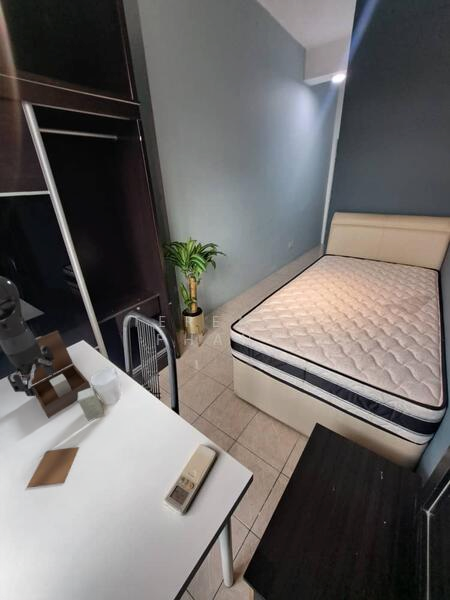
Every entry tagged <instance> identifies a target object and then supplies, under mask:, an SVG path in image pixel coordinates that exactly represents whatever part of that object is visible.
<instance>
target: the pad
mask: <svg viewBox="0 0 450 600" xmlns="http://www.w3.org/2000/svg"><path fill="white" fill-rule="evenodd" d="M79 449H80V447H79V446H75V447H66V448H58V449H50V450H47V451H45V452H44V454H43V456H42V458H41V460H40V462H39V464H38V465H37V467H36V469H35V470H34V473H33V475H32V477H31V478H30V480H29V482H28V484H27V486H26V488H35V487H42V486H49V485H57V484H65V482H66V479H67V477H68V475H69V472H70V470H71V469H72V465H73V463H74V461H75V458H76V456H77V454H78V451H79Z"/></svg>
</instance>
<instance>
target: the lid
mask: <svg viewBox="0 0 450 600" xmlns="http://www.w3.org/2000/svg"><path fill="white" fill-rule="evenodd" d="M35 339H36V341H37V343H38V345H39V346H48V347H49V349H50V351H51V353H52V354H53V356H54V360H52V361H51V362H52V364H51V365H52V367H53V369H54V374H56V373H58V372H60V371H61V370H63V369H65V368H67V367H69V366H71V365H73V364H74V362H73V360H72V357H71V354H70V353H69V351H68V349H67V347H66V345H65V343H64V340H63V339H62V337H61V334H60V332H59V330H55V331H53V332H50V333H47V334H46V335H42V336H41V335H40V336H38V337H35ZM48 357H49V356H48ZM42 359H44V358H43V356H42ZM44 360H45V359H44ZM50 376H52V375H47V374H46V372H45V370H44V368H43V366H42V365H41V367H40V368H39V369H38V370H37V371H36V373H35V374H34V379H33V380H32V385H31V386H33V385H35V384H37V383H38V382H40V381H42V380H44V379H46V378H48V377H50ZM25 377H29V375H25Z"/></svg>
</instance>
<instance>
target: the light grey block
mask: <svg viewBox="0 0 450 600" xmlns="http://www.w3.org/2000/svg"><path fill="white" fill-rule="evenodd" d="M49 381H50V383H51V385H52V387H53V388H54V390H55V392H56V394H57V396H58V397H61V396H63V395H65V394H66V393H68V392H70V391H71V388H70V386H69V384H68V382H67V380H66V378H65V377H64V375H63V374H60V375H59V376H57V377H55V378H53V379H51V380H49Z"/></svg>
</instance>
